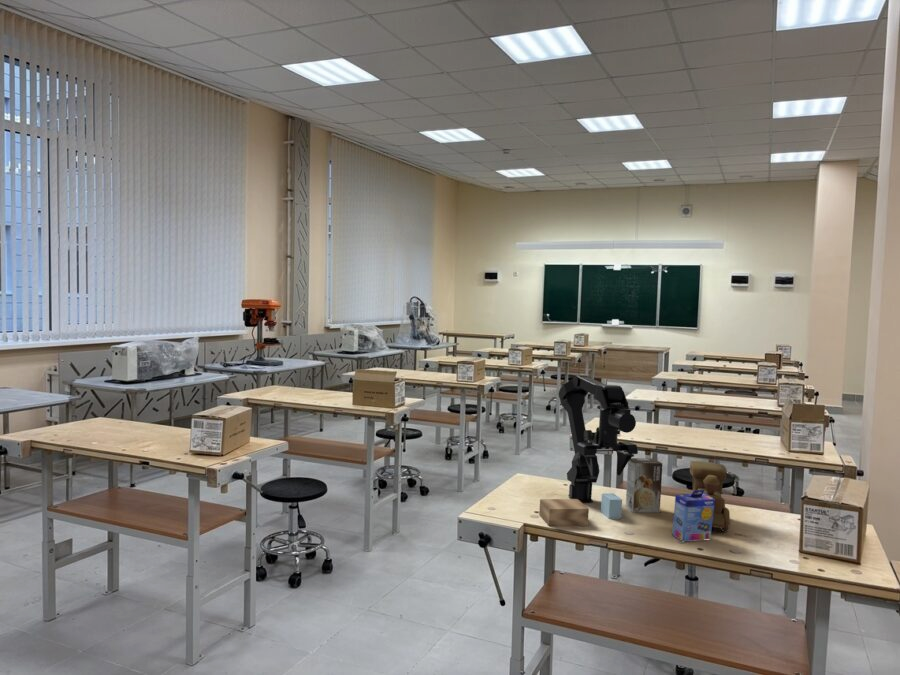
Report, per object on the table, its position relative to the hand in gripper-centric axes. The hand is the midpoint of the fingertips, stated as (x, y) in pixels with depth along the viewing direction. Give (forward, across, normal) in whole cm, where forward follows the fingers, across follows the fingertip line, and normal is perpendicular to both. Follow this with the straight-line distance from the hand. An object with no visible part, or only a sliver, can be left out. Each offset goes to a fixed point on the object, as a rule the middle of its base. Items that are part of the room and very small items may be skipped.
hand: (605, 475), depth 193 cm
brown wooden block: (+12, +15, +3) cm, 20 cm away
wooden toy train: (+13, -29, +11) cm, 34 cm away
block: (+12, -2, +1) cm, 13 cm away
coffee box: (+12, -16, -2) cm, 20 cm away
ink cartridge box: (+13, -16, +22) cm, 30 cm away
